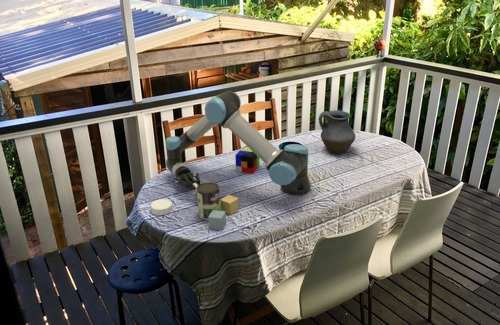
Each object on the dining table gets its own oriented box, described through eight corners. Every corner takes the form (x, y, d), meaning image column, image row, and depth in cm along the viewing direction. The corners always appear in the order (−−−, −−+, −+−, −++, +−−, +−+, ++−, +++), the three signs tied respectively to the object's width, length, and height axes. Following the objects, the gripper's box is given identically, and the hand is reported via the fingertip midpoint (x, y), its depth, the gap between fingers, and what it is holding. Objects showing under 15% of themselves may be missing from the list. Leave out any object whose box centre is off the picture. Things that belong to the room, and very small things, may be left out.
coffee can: (225, 212, 208) (224, 185, 203) (212, 222, 201) (210, 194, 195) (207, 206, 214) (205, 180, 208) (194, 216, 206) (191, 189, 200)
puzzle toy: (236, 171, 248) (235, 154, 244) (243, 164, 256) (242, 148, 252) (252, 174, 245) (252, 157, 240) (259, 166, 253) (259, 150, 249)
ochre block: (239, 209, 211) (238, 198, 208) (230, 214, 206) (230, 203, 204) (229, 205, 214) (228, 194, 212) (221, 211, 210) (220, 199, 207)
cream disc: (176, 211, 210) (175, 205, 209) (155, 218, 206) (155, 211, 204) (167, 203, 218) (167, 196, 217) (148, 208, 213) (147, 202, 212)
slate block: (226, 223, 200) (225, 211, 198) (222, 230, 195) (221, 218, 192) (213, 221, 201) (212, 210, 199) (209, 228, 196) (208, 217, 194)
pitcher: (357, 158, 260) (360, 117, 250) (319, 158, 260) (321, 117, 250) (350, 144, 279) (353, 105, 268) (315, 145, 279) (316, 106, 269)
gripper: (194, 176, 236) (212, 194, 217) (170, 182, 230) (187, 201, 212) (192, 163, 233) (211, 180, 214) (168, 168, 227) (186, 187, 208)
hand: (199, 191), depth 213 cm, fingers closed
